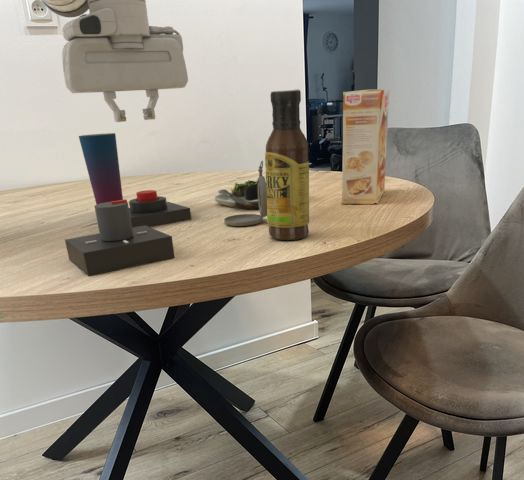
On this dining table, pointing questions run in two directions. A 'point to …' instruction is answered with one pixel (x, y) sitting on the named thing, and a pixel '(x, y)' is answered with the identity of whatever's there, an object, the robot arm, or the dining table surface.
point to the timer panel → (119, 250)
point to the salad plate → (240, 196)
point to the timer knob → (114, 220)
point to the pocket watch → (262, 203)
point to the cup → (102, 166)
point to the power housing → (157, 212)
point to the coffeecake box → (364, 145)
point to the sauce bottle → (287, 170)
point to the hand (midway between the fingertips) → (135, 120)
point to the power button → (146, 195)
